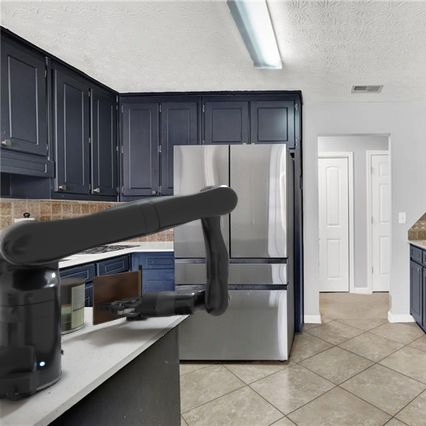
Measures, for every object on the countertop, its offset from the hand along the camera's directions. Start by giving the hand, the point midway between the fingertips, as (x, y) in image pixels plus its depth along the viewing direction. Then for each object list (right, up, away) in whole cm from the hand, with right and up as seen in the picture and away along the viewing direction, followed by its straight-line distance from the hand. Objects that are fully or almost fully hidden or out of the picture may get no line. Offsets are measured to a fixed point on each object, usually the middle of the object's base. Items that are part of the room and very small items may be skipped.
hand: (98, 307), depth 87 cm
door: (+2, -5, +5) cm, 8 cm away
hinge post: (+6, -7, +10) cm, 13 cm away
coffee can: (-11, -7, +1) cm, 13 cm away
